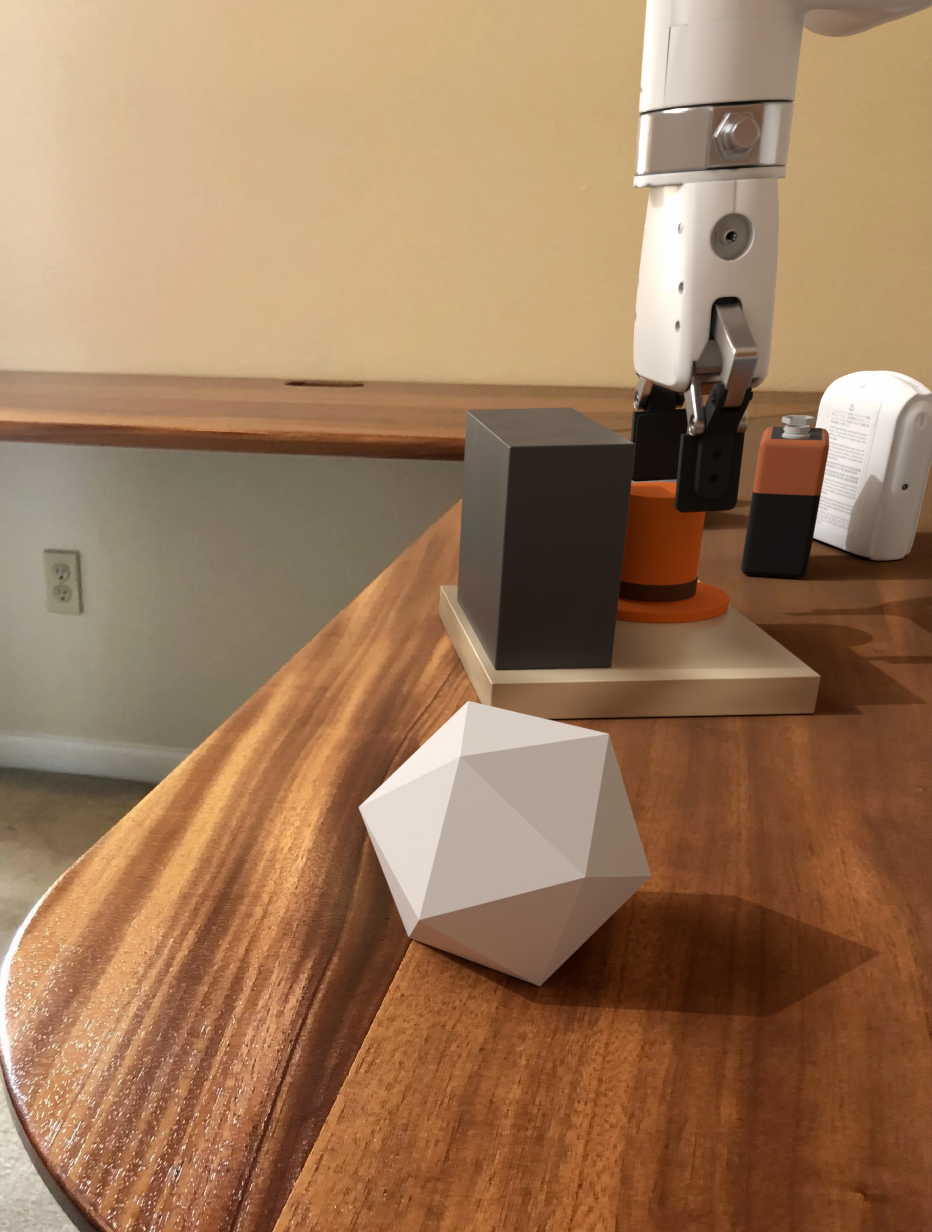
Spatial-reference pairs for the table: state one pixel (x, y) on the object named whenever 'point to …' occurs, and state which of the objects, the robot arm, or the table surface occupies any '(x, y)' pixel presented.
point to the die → (507, 839)
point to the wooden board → (648, 672)
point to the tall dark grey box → (543, 536)
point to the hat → (664, 561)
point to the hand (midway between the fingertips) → (678, 493)
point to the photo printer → (874, 463)
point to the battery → (785, 499)
